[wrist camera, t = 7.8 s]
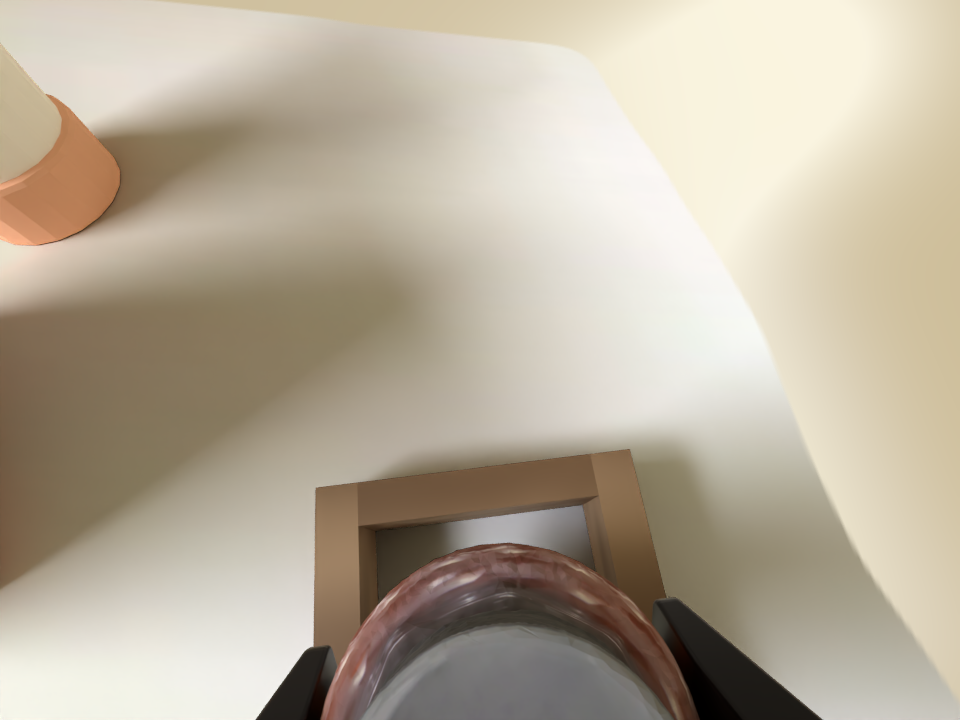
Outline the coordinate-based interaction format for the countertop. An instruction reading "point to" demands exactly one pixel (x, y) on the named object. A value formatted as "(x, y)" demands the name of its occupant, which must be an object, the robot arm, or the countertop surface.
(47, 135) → the pepper shaker
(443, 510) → the walnut holder
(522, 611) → the supplement bottle
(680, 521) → the countertop surface
